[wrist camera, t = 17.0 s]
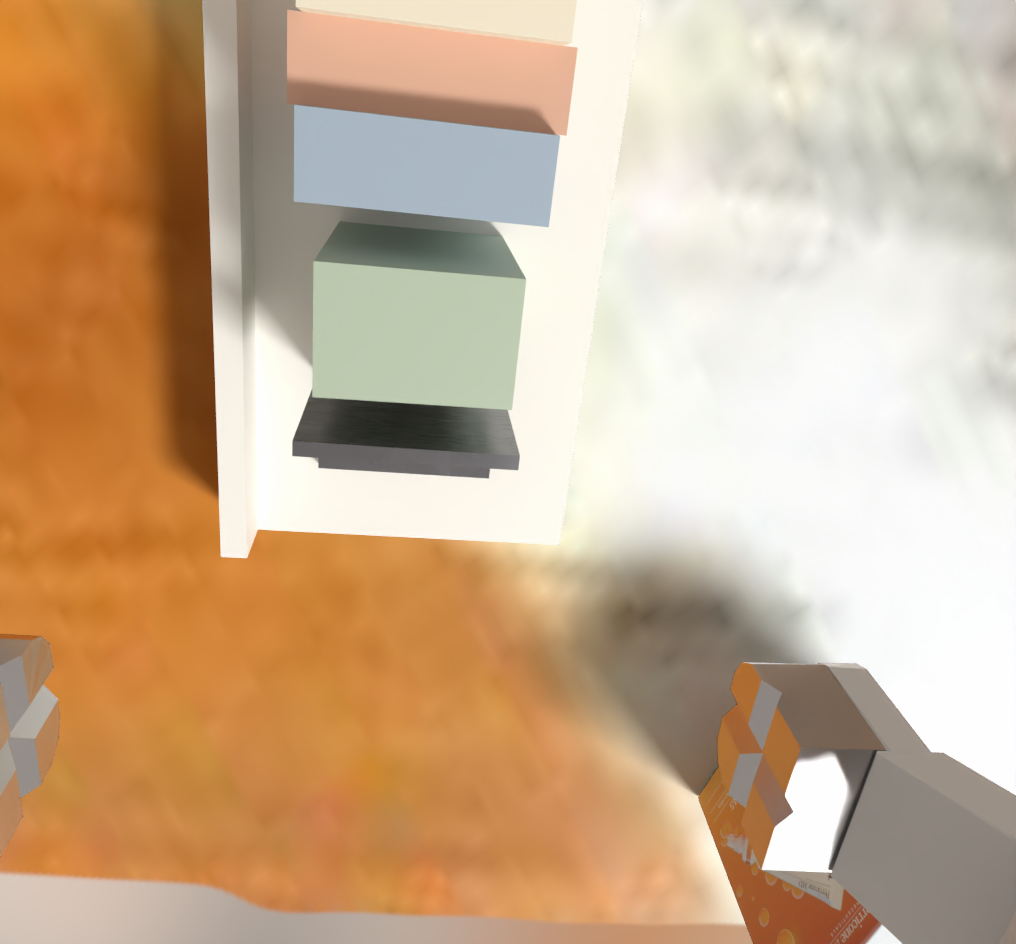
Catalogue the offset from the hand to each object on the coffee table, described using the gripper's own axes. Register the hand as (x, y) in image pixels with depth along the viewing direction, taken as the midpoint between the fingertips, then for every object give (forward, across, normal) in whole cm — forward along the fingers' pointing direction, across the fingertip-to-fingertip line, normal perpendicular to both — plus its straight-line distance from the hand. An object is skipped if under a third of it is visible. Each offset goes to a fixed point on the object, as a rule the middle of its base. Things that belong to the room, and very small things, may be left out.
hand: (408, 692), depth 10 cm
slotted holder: (+25, 0, 0) cm, 25 cm away
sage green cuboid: (+24, 0, 0) cm, 24 cm away
